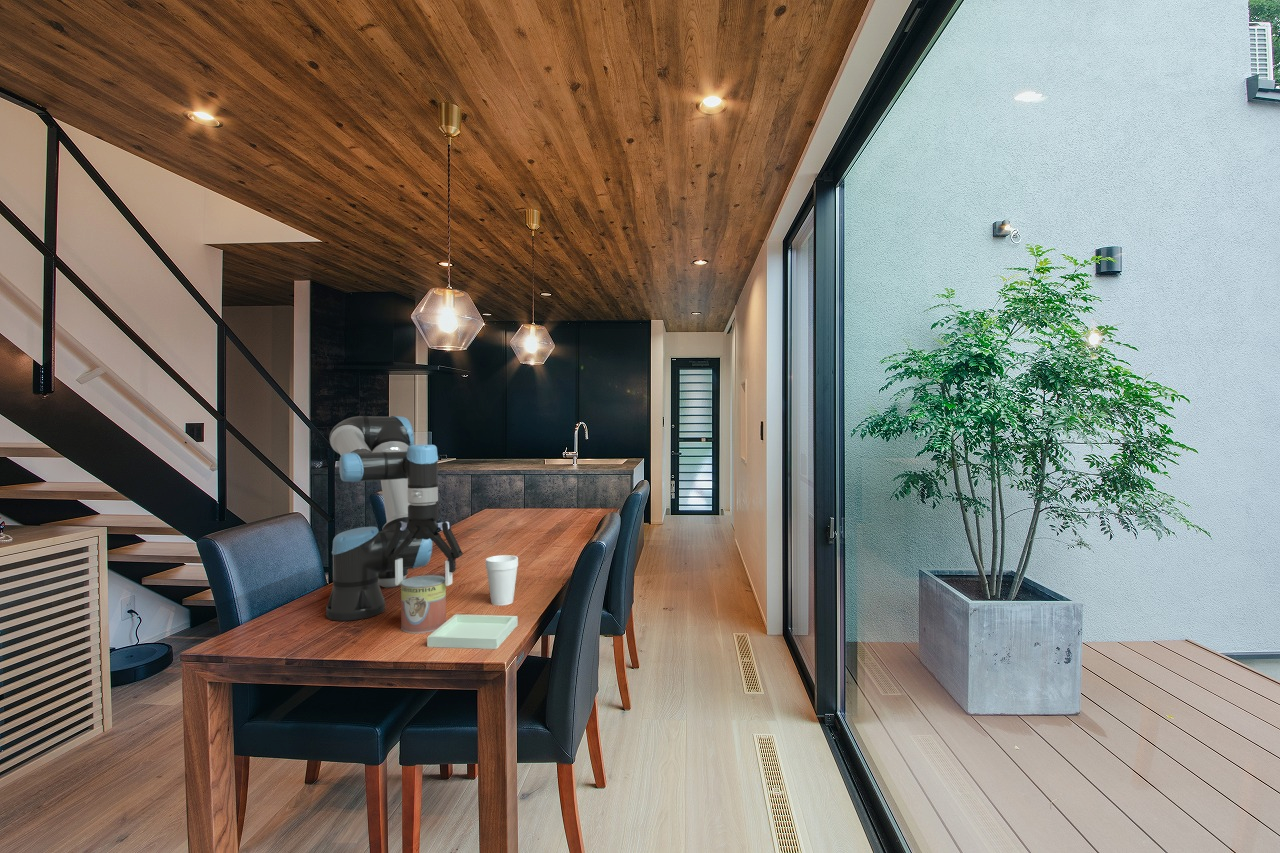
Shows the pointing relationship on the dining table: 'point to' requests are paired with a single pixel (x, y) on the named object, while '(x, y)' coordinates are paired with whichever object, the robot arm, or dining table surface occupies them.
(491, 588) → the foam cup
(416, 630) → the canned food
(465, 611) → the dining table surface
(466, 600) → the dining table surface
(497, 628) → the tray
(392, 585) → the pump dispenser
